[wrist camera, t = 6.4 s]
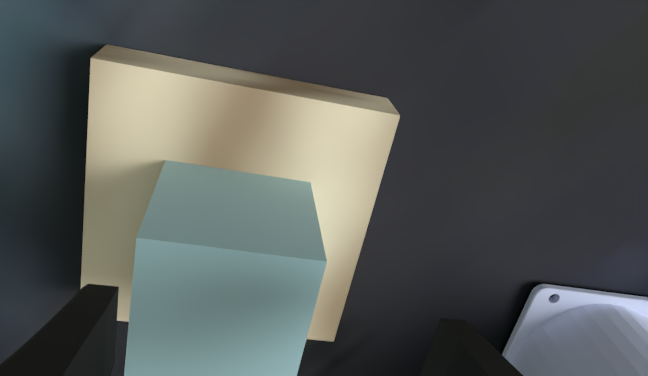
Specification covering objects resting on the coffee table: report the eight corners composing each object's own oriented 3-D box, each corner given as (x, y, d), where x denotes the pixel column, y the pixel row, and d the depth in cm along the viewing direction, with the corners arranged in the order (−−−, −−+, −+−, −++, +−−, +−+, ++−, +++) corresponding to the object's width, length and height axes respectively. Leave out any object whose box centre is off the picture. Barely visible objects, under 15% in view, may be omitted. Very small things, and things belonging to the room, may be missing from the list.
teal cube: (310, 182, 19) (326, 261, 15) (283, 296, 21) (291, 395, 17) (165, 160, 18) (136, 237, 14) (152, 281, 20) (123, 383, 16)
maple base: (387, 98, 20) (400, 115, 19) (328, 310, 24) (333, 341, 23) (106, 44, 18) (90, 57, 17) (93, 285, 22) (79, 317, 21)
